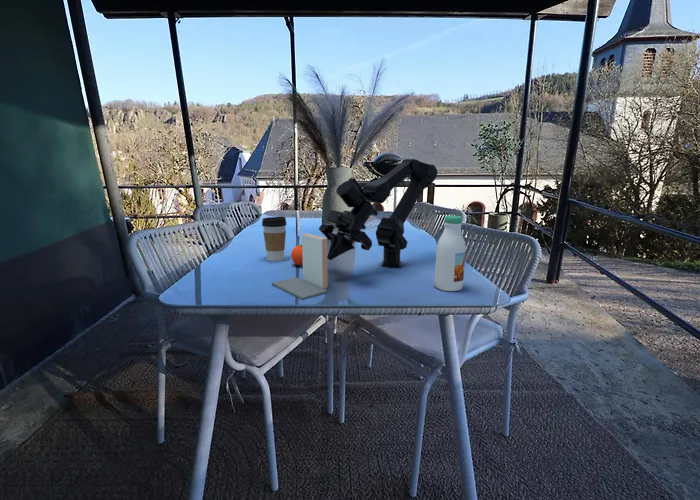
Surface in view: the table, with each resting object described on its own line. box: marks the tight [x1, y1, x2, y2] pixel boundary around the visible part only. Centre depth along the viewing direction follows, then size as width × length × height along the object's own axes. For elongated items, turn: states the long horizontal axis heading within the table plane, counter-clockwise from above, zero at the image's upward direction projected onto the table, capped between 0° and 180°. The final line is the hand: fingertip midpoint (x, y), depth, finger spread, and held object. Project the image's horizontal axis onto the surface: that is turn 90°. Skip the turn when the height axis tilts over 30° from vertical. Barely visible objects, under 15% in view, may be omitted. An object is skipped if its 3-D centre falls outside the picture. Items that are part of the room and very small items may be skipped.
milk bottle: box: [433, 215, 467, 292], centre depth 99 cm, size 8×8×20 cm
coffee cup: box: [261, 216, 288, 262], centre depth 127 cm, size 8×8×15 cm
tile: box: [301, 232, 328, 290], centre depth 101 cm, size 2×9×14 cm, turn 41°
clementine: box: [290, 244, 303, 267], centre depth 121 cm, size 8×7×7 cm
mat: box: [271, 277, 328, 301], centre depth 99 cm, size 8×15×1 cm, turn 41°
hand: (328, 259), depth 104 cm, fingers closed
